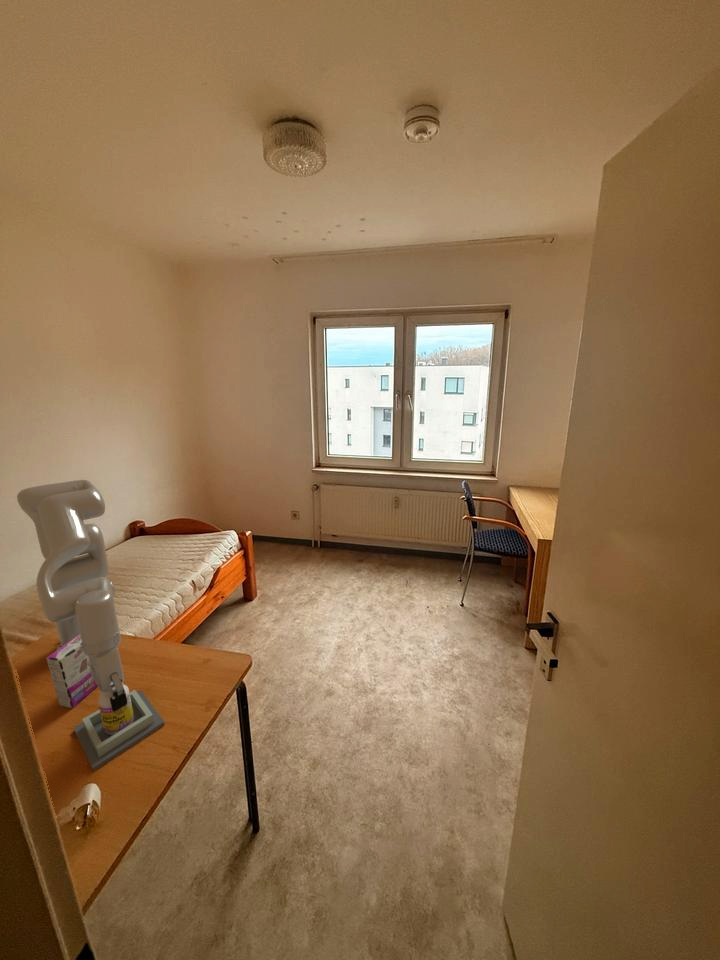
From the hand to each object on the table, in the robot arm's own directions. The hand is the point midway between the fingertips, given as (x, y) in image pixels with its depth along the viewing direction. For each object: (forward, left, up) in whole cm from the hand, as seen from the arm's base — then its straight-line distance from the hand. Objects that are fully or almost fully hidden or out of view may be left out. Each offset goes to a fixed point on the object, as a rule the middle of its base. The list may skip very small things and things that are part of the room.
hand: (113, 696), depth 95 cm
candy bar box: (-21, -3, -10) cm, 23 cm away
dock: (0, 0, -10) cm, 10 cm away
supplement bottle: (+1, 0, -9) cm, 9 cm away
